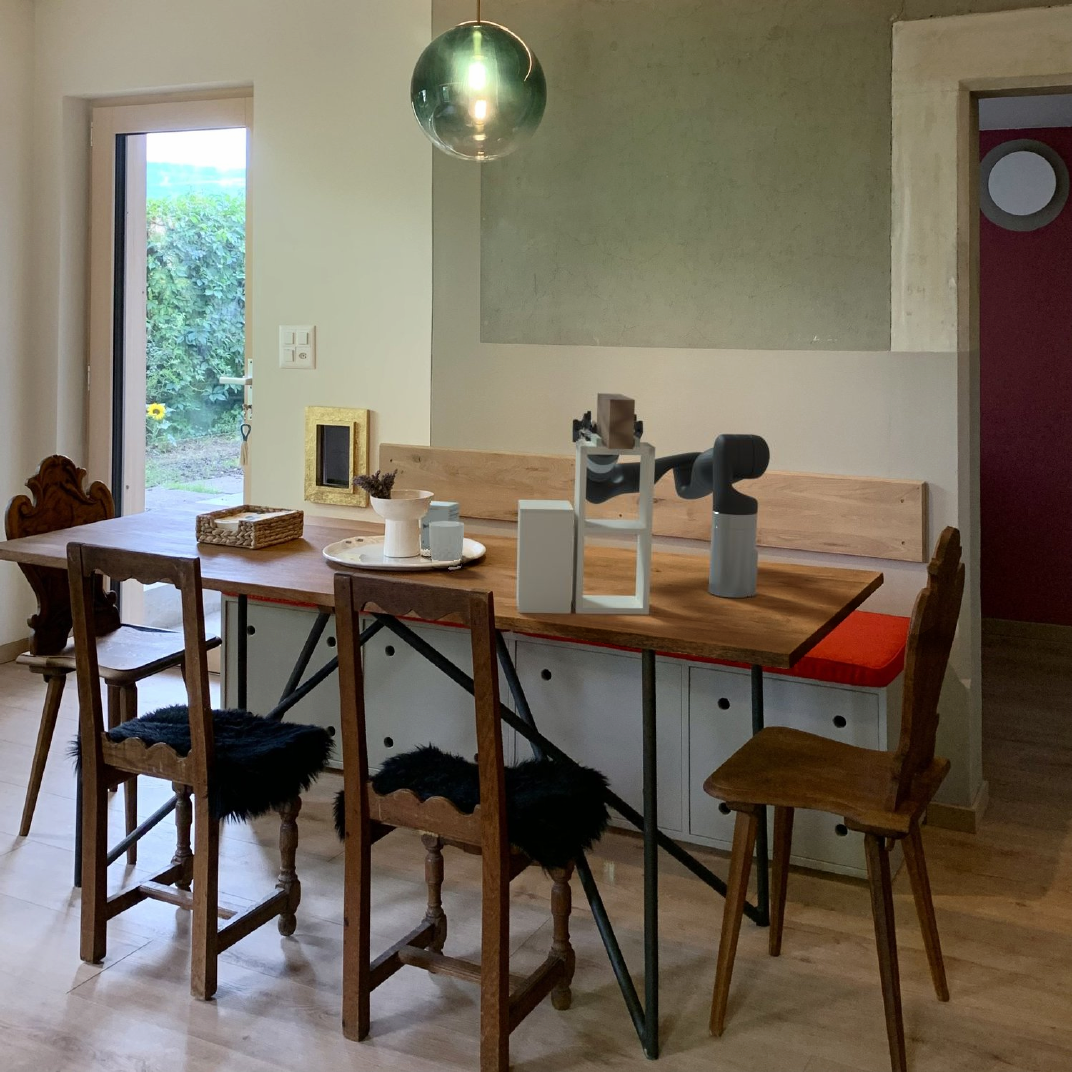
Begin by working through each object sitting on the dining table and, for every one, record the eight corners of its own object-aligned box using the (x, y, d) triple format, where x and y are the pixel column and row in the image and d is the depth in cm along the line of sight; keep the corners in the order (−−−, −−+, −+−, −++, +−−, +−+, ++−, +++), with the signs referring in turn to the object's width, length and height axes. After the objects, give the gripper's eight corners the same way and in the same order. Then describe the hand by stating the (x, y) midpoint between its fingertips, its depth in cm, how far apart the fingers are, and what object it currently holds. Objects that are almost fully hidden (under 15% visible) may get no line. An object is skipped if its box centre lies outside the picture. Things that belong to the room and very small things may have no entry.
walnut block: (618, 438, 243) (619, 393, 241) (633, 449, 219) (634, 399, 218) (596, 437, 242) (597, 393, 241) (608, 448, 219) (610, 399, 217)
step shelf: (639, 599, 242) (646, 434, 236) (648, 614, 229) (655, 439, 223) (516, 598, 240) (519, 431, 235) (518, 612, 228) (522, 436, 222)
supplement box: (419, 556, 284) (419, 503, 281) (431, 551, 291) (431, 500, 288) (448, 559, 281) (448, 505, 279) (459, 553, 288) (460, 501, 286)
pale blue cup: (432, 571, 266) (432, 526, 265) (425, 564, 274) (426, 521, 272) (466, 569, 269) (467, 526, 267) (459, 563, 276) (460, 520, 274)
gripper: (636, 466, 251) (647, 433, 236) (568, 465, 250) (575, 431, 235) (635, 434, 254) (645, 399, 238) (568, 432, 253) (574, 397, 238)
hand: (610, 415), depth 237 cm, fingers open, 8 cm apart
